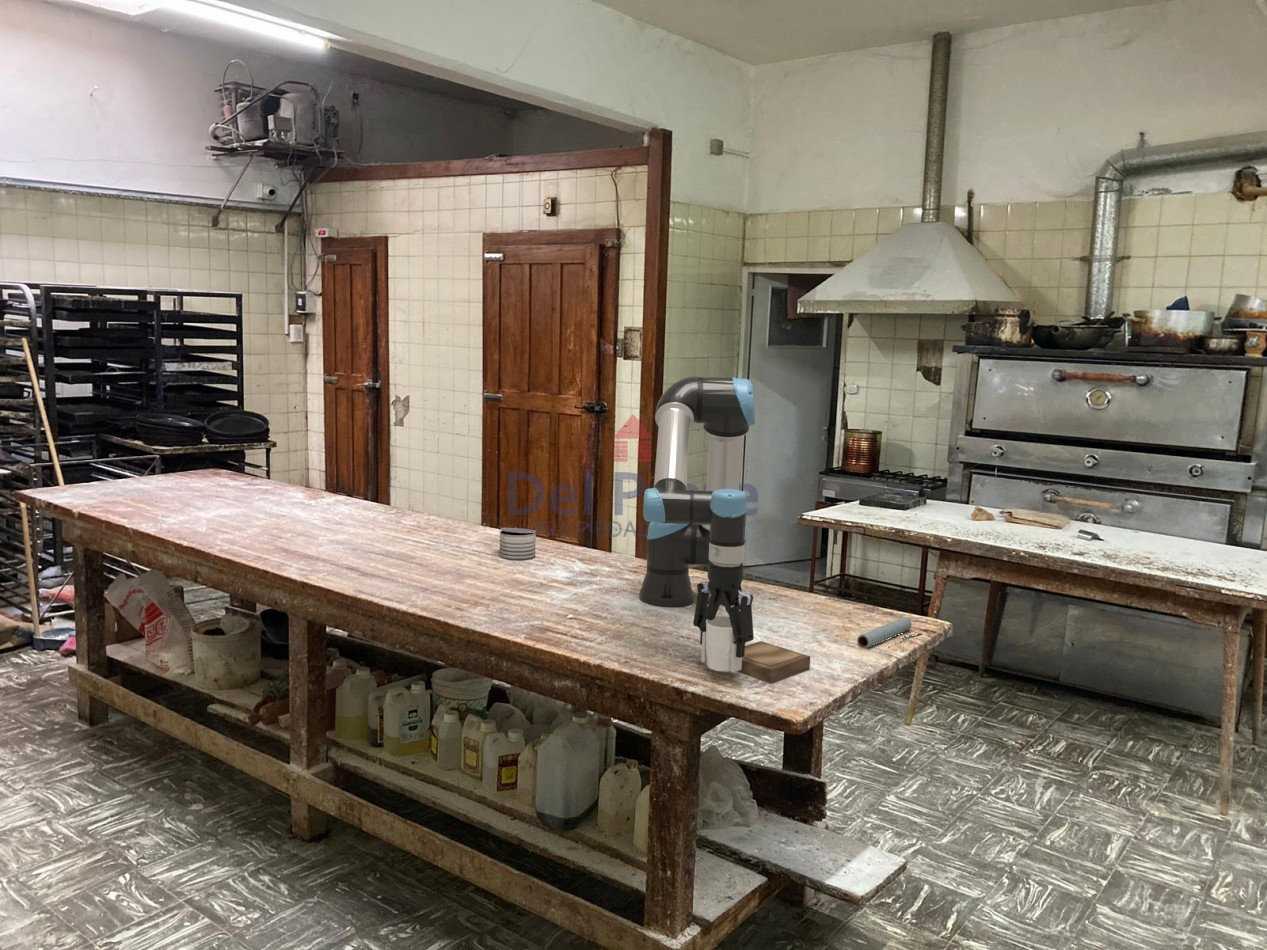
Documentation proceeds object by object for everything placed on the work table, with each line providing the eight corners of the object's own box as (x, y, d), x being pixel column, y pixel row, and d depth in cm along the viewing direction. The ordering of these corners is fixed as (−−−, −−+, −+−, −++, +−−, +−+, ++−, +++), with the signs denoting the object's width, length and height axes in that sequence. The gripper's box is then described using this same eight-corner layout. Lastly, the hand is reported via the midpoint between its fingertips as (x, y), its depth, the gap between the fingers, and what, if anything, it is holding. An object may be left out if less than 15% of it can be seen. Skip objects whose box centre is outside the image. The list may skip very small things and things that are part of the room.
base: (721, 666, 211) (721, 652, 211) (760, 653, 221) (760, 640, 220) (771, 683, 201) (771, 669, 201) (809, 669, 211) (810, 655, 210)
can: (492, 564, 299) (492, 527, 297) (521, 560, 307) (521, 523, 305) (513, 571, 291) (513, 533, 289) (542, 566, 298) (543, 529, 297)
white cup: (699, 669, 202) (701, 624, 200) (709, 657, 209) (711, 614, 207) (735, 675, 199) (737, 629, 197) (744, 662, 206) (746, 619, 205)
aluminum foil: (899, 628, 246) (900, 615, 246) (923, 633, 242) (924, 621, 241) (856, 646, 230) (856, 633, 229) (881, 653, 225) (882, 639, 225)
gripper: (678, 555, 205) (674, 656, 208) (752, 575, 190) (747, 683, 194) (701, 550, 210) (697, 648, 213) (775, 569, 195) (769, 674, 199)
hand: (721, 665), depth 204 cm, fingers closed on white cup, 8 cm apart
